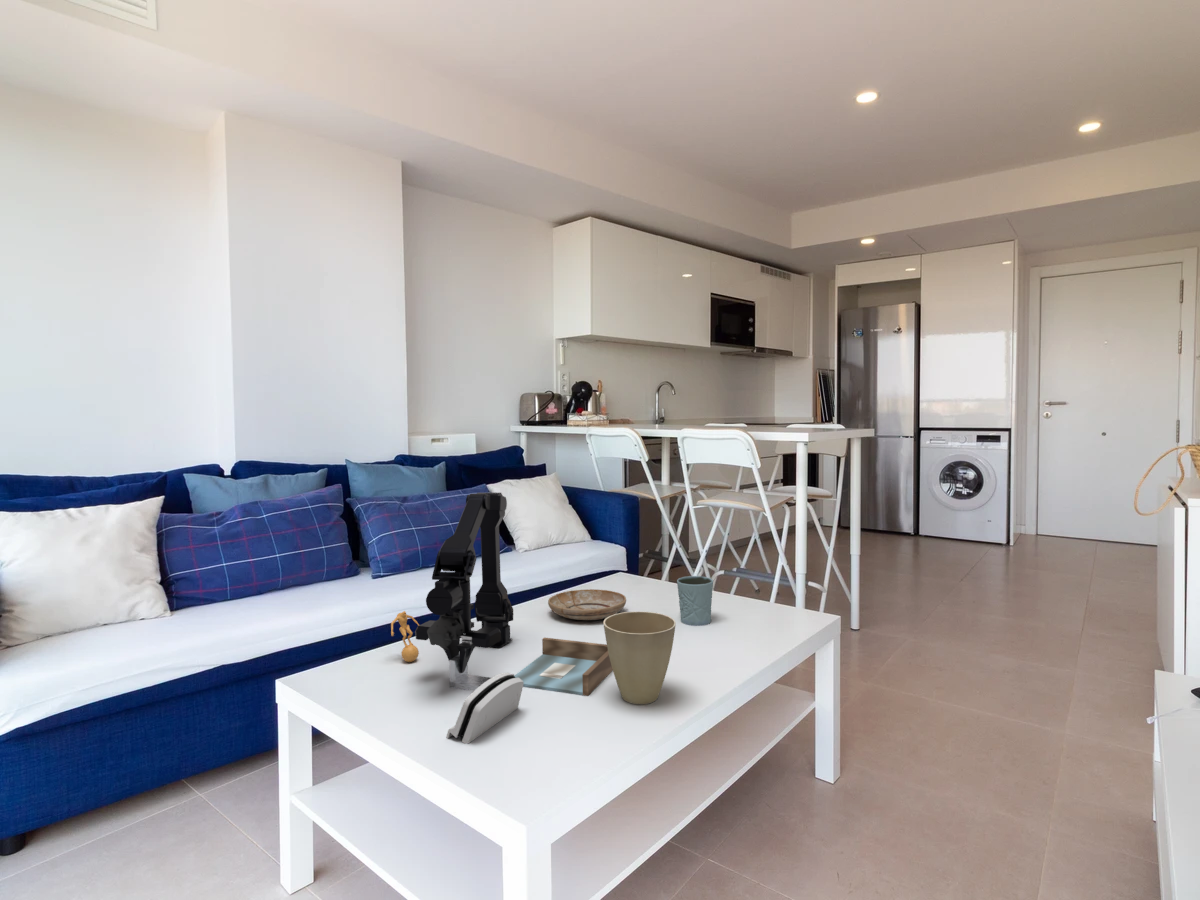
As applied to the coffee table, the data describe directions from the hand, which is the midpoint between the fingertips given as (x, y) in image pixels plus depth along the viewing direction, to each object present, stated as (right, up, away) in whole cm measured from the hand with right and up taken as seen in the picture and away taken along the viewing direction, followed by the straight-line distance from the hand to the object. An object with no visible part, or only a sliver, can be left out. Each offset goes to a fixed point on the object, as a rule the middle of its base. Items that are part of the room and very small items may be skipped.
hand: (458, 671), depth 146 cm
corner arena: (+22, -2, +4) cm, 23 cm away
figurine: (-16, -2, +15) cm, 21 cm away
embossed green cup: (+58, 0, +43) cm, 73 cm away
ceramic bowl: (+27, -1, +52) cm, 59 cm away
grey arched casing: (+10, -4, -20) cm, 22 cm away
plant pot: (+39, -3, -9) cm, 41 cm away
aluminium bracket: (+3, -3, -1) cm, 4 cm away
